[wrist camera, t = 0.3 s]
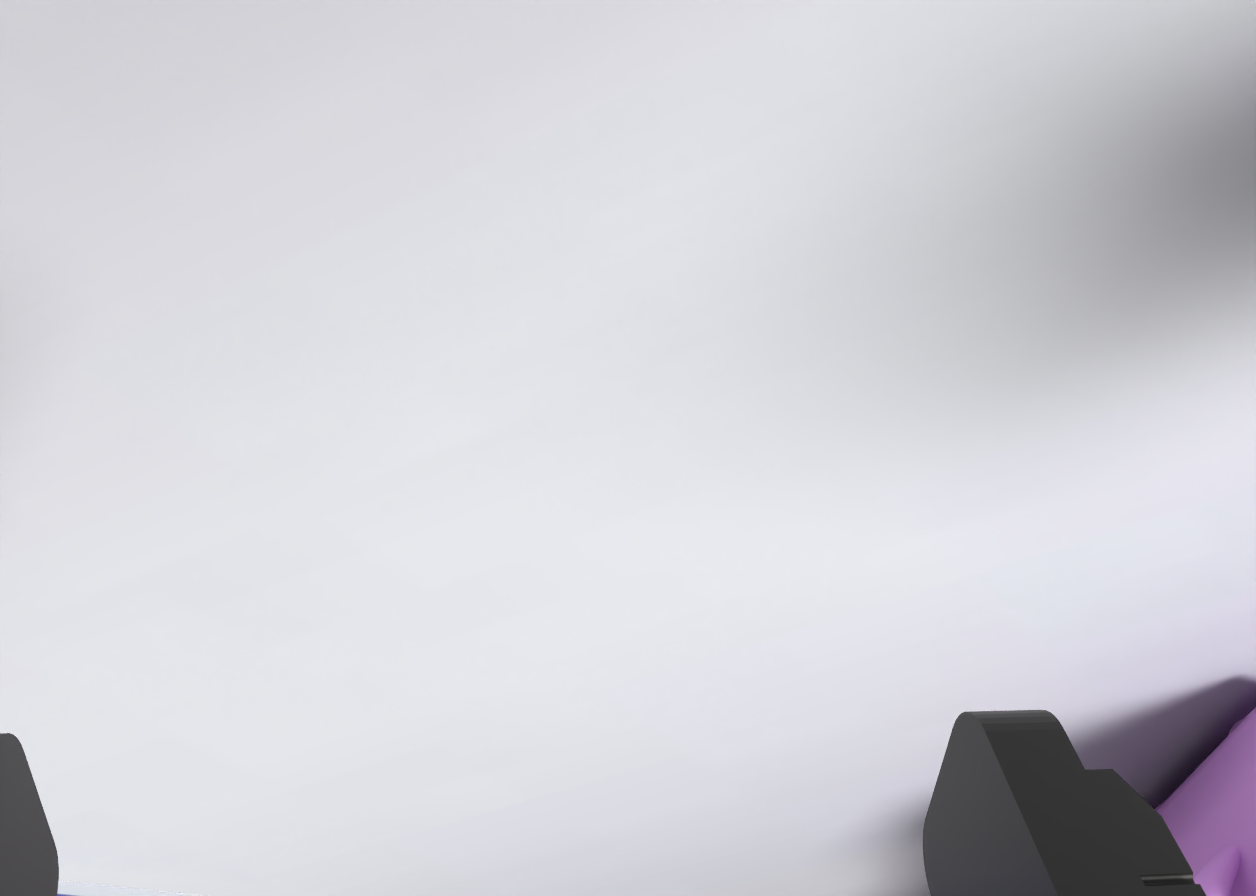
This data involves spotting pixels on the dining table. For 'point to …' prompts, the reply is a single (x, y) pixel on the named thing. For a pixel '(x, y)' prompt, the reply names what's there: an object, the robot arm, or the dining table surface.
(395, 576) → the dining table surface
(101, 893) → the hard drive
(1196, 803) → the teapot
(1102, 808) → the robot arm
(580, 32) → the dining table surface
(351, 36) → the dining table surface
